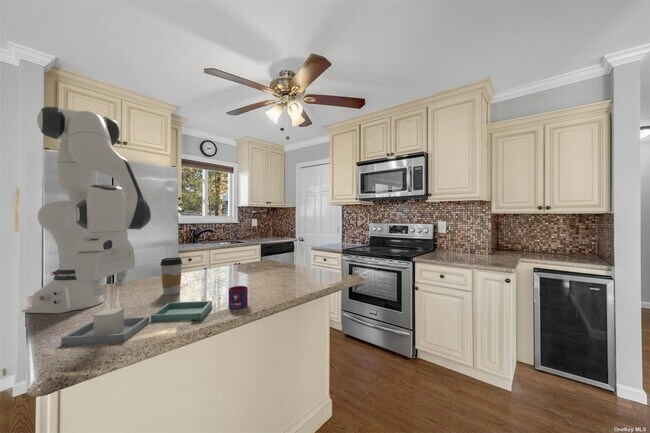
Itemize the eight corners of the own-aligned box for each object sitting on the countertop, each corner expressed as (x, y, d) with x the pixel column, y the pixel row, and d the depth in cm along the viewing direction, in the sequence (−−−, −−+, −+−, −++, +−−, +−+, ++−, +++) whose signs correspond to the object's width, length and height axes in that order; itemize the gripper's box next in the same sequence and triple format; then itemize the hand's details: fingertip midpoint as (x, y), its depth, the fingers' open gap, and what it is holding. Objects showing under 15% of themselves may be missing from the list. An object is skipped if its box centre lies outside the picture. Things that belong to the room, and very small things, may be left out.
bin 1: (61, 347, 71) (61, 338, 71) (96, 327, 84) (96, 319, 84) (124, 343, 73) (124, 334, 73) (149, 324, 86) (149, 316, 86)
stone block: (93, 337, 76) (93, 315, 76) (105, 329, 81) (105, 309, 81) (113, 336, 76) (113, 314, 76) (124, 328, 81) (124, 308, 81)
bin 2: (150, 323, 87) (150, 315, 87) (168, 309, 100) (168, 302, 100) (201, 320, 89) (201, 313, 89) (212, 307, 102) (212, 300, 102)
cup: (226, 309, 99) (226, 290, 99) (234, 300, 109) (234, 283, 109) (245, 309, 100) (244, 290, 99) (251, 300, 110) (251, 283, 109)
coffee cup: (186, 290, 124) (186, 257, 124) (174, 296, 116) (174, 260, 115) (168, 290, 125) (168, 257, 125) (155, 295, 116) (155, 260, 116)
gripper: (118, 239, 88) (120, 282, 88) (68, 246, 68) (70, 302, 68) (140, 238, 89) (141, 281, 89) (96, 245, 69) (98, 300, 69)
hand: (110, 290), depth 78 cm, fingers open, 8 cm apart
